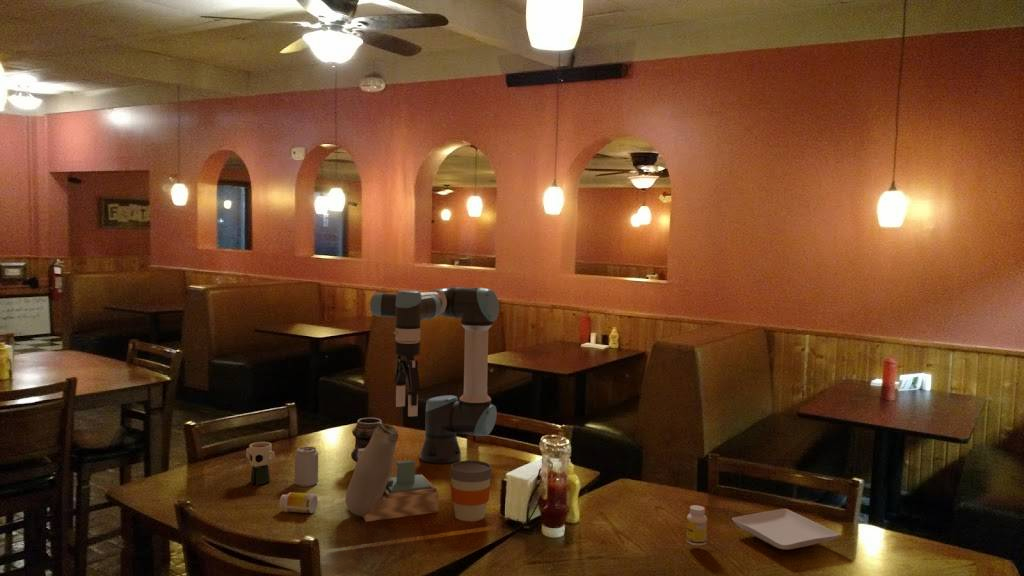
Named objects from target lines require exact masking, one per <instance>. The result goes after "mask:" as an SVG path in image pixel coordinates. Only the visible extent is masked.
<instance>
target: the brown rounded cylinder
mask: <svg viewBox="0 0 1024 576" xmlns="http://www.w3.org/2000/svg"><path fill="white" fill-rule="evenodd" d="M398 441H399V432H398V431H397V429H396V428H395V427H394V426H392V425H390V424H389V423H382V424H380V425H378V426H377V427H376V428H375V430H374V431H373V434H372V437H371V440H370V442H369V444H368V445H367V446H366V448H365V449H364V451H363V452H362V454H361V455H360V457H359V459H358V461H357V462H356V464H355V466H354V470H353V473H352V475H351V479H350V481H349V484H348V487H347V490H346V493H345V505H346V508H347V509H348V511H349V512H350V513H352V514H354V515H355V516H358V517H362V516H365V515H366V514H368V513H370V512H371V511H372V510H373V508H374V507H375V505H376V503H377V501H378V500H379V499H381V498H382V495H383V493H384V490H385V488H386V485H387V483H388V480H389V478H391V474H392V472H393V469H394V464H395V463H394V462H395V450H396V445H397V443H398Z"/></svg>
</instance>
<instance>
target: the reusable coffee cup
mask: <svg viewBox="0 0 1024 576" xmlns="http://www.w3.org/2000/svg"><path fill="white" fill-rule="evenodd" d="M492 476H493V472H492V466H491V464H490V463H488V462H485V461H480V460H471V459H470V460H458V461H456V462H453V463H451V466H450V471H449V478H450V481H451V483H450V485H449V486H450V494H451V501H452V502H453V509H454V510H453V511H454V518H456V519H458V520H459V521H462V522H478V521H481V520H483V519H485V517H486V511H487V505H488V502H489V500H490V494H491V493H490V492H491V487H492V486H491V485H492V484H491V479H492Z"/></svg>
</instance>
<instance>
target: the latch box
mask: <svg viewBox="0 0 1024 576" xmlns="http://www.w3.org/2000/svg"><path fill="white" fill-rule="evenodd" d="M418 475H420V476H421V477H422V478H423V479H424V480H425V482H426V483H427V484H428V485H429V486H430V489H423V490H414V491H406V492H397V493H389V491H388V490H387V489H386V488H385V490H384V493H383V495H382V498H381V499H379V500H378V501H377V503H376V505H375V507H374V508H373V510H372V511H371V512H370V513H368V514H366V515H365V516H361V517H362V518H363V520H364V521H365V522H373V521H374V522H375V521H381V520H389V519H396V518H403V517H405V518H406V517H411V516H418V515H425V514H433V513H435V514H436V513H439V494H440V493H439V491H437V488H436V487H435V486H434V485H433V484H432V483H431V482H430V481H429V480H428V479H427V478H426V477H425V476H424V475H423V473H422V474H418Z"/></svg>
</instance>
